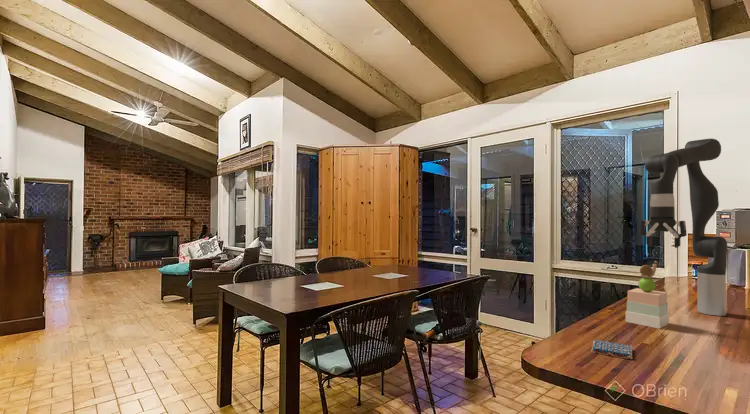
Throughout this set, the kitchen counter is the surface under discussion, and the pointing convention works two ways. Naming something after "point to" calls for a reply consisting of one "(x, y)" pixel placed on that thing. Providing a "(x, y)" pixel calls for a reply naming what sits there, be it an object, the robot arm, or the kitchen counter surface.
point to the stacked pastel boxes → (647, 308)
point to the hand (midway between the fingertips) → (662, 246)
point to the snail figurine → (647, 278)
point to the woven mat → (612, 349)
